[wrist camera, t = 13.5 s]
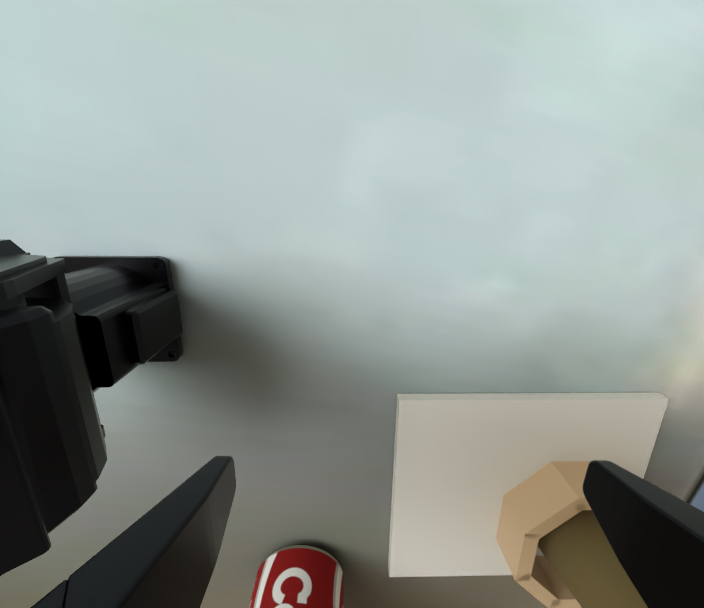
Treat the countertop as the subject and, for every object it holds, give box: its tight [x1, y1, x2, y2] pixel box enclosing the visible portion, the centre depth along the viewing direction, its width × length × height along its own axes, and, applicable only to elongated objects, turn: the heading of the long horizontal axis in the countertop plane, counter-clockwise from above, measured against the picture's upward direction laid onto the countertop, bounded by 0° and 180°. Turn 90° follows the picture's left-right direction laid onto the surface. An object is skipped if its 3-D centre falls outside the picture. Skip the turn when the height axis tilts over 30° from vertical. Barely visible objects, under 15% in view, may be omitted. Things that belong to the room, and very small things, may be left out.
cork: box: [538, 510, 648, 608], centre depth 20 cm, size 6×6×11 cm
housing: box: [388, 392, 669, 608], centre depth 23 cm, size 18×16×4 cm
